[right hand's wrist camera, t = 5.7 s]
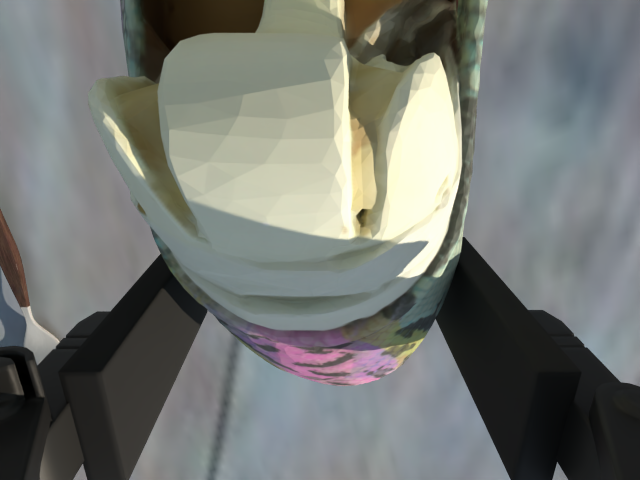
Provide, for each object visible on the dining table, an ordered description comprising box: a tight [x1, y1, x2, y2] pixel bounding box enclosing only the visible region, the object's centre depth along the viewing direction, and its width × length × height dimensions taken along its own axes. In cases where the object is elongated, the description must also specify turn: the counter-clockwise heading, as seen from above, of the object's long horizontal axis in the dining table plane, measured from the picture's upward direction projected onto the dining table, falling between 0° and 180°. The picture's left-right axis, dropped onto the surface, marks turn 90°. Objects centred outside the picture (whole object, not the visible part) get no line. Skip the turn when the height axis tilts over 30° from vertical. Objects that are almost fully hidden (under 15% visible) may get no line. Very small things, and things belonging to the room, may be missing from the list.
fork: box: [0, 209, 59, 365], centre depth 26 cm, size 3×16×2 cm, turn 1°
